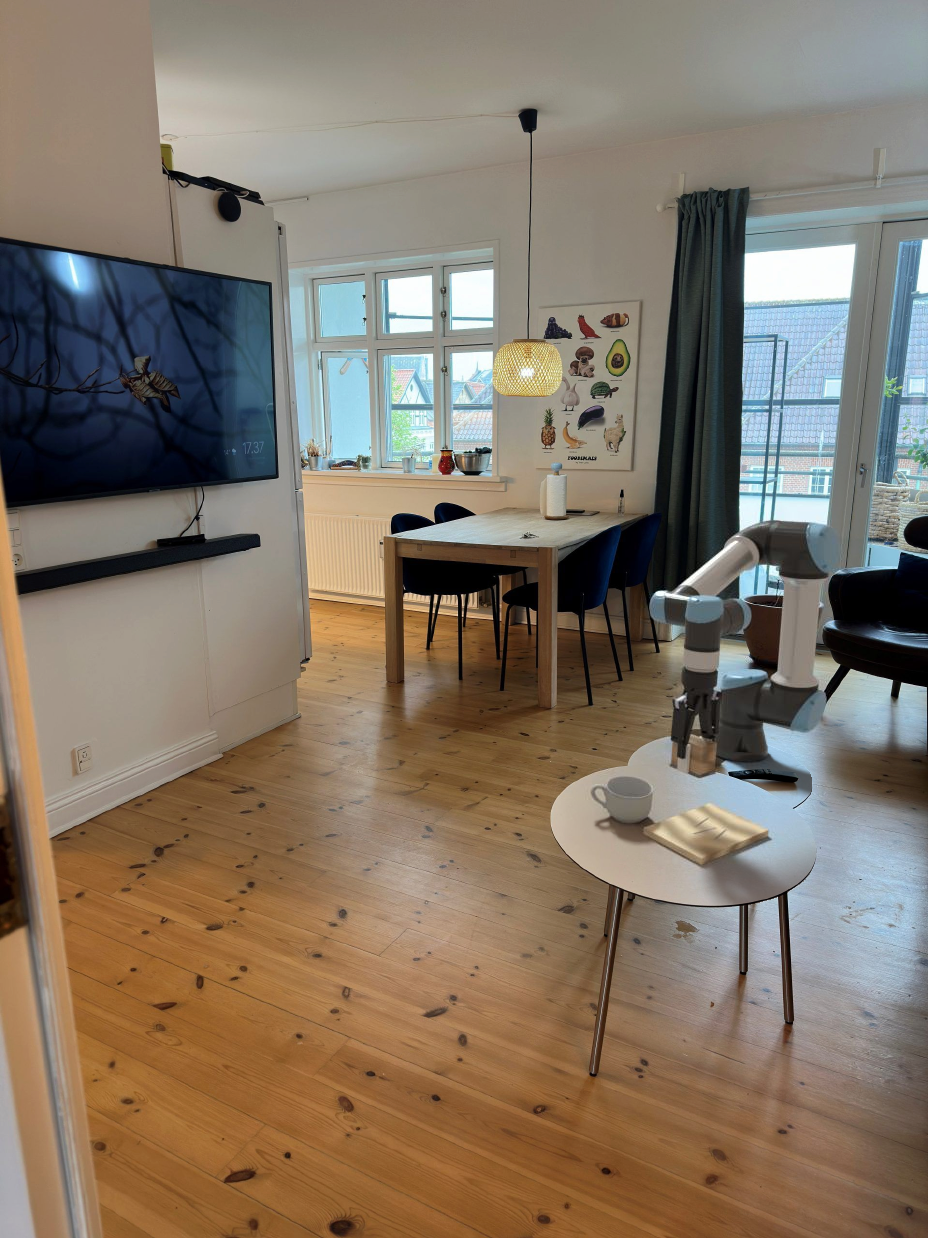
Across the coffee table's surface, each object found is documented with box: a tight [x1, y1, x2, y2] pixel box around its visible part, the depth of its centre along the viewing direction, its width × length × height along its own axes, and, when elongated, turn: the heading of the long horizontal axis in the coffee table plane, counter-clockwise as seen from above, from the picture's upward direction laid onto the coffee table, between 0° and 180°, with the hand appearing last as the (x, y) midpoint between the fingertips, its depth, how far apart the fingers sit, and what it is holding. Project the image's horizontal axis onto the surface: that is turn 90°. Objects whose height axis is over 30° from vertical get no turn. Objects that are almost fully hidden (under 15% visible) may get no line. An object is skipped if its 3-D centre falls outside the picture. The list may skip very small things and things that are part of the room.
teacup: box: [590, 775, 654, 824], centre depth 186 cm, size 14×11×8 cm
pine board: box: [643, 802, 770, 866], centre depth 178 cm, size 22×16×2 cm
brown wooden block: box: [669, 733, 717, 779], centre depth 179 cm, size 5×8×7 cm, turn 34°
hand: (692, 768), depth 180 cm, fingers closed on brown wooden block, 5 cm apart
